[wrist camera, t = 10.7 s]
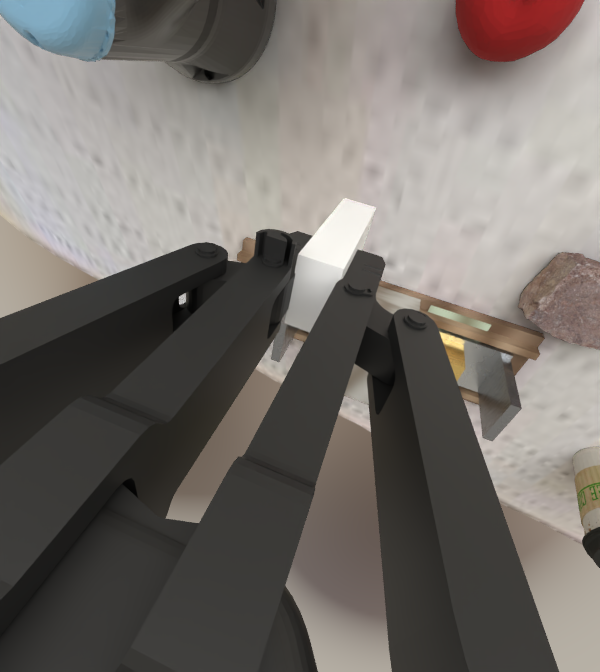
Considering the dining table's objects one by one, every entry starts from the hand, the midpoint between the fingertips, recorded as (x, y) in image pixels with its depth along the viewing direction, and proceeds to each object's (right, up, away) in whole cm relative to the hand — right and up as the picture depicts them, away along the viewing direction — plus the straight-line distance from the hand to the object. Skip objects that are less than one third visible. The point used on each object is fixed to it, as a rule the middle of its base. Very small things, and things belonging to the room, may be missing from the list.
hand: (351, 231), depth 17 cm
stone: (+31, 0, +26) cm, 41 cm away
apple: (+16, +24, +14) cm, 33 cm away
